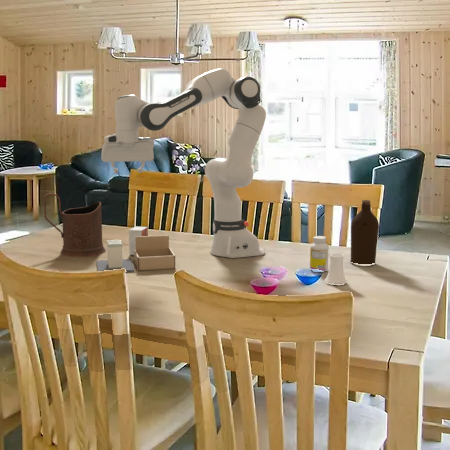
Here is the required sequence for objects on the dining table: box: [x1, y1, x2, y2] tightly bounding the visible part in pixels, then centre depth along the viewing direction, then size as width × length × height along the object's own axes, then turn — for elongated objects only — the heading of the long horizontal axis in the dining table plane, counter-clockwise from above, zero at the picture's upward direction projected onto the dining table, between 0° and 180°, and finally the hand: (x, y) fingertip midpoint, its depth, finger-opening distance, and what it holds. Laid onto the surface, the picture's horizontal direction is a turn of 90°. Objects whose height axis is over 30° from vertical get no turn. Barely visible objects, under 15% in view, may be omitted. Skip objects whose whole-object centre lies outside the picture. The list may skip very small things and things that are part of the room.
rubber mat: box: [96, 258, 135, 273], centre depth 229 cm, size 13×16×1 cm
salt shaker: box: [324, 253, 348, 284], centre depth 212 cm, size 8×8×10 cm
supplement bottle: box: [309, 235, 329, 272], centre depth 226 cm, size 7×7×13 cm
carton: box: [134, 235, 176, 272], centre depth 232 cm, size 14×13×10 cm
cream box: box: [106, 239, 123, 268], centre depth 228 cm, size 5×7×9 cm
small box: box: [128, 226, 149, 256], centre depth 250 cm, size 8×6×10 cm
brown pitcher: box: [43, 193, 107, 258], centre depth 249 cm, size 18×24×25 cm
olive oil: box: [350, 199, 380, 264], centre depth 236 cm, size 11×11×25 cm
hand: (128, 173), depth 238 cm, fingers open, 8 cm apart
